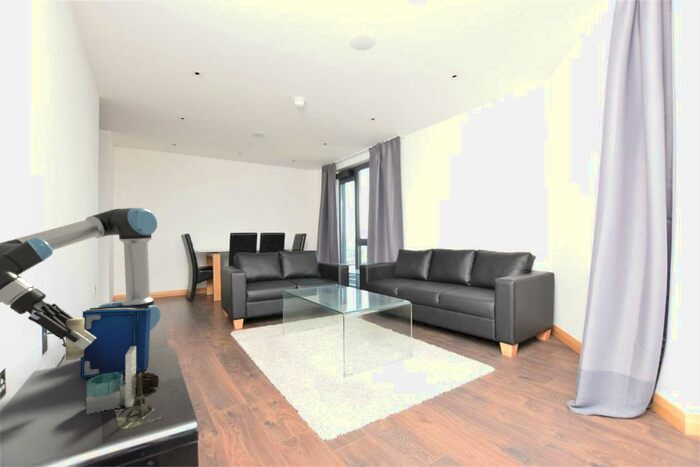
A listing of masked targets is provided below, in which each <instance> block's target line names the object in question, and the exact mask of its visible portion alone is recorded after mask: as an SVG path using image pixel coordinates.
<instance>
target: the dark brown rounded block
mask: <svg viewBox="0 0 700 467" xmlns="http://www.w3.org/2000/svg"><path fill="white" fill-rule="evenodd" d="M139 373H141V383H142V392H143V393H149V392H150V391H151V390H152V389H154V388H159V384H160V378H159V376H158V375H157V374H156V373H153V372H143V371H141V372H139ZM139 373H136V393H137V391H138V380H139V376H138V374H139Z"/></svg>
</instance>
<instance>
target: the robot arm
mask: <svg viewBox="0 0 700 467" xmlns="http://www.w3.org/2000/svg"><path fill="white" fill-rule="evenodd" d="M157 228H158V220H157V217H156V216H155V213H153V212H152V211H151V210H150V209H147V208H144V207H143V208H142V207H127V208H114V209H110V210H107V211H103V212H100V213H98V214H94V215H91V216H87V217H86V218H85V219H84V220H80V221H77V222H73V223H70V224H66V225H62V226H58V227H55V228H51V229H47V230H44V231H40V232H36V233H33V234H29V235H26V236H21V237H18V238H17V237H16V238H14V239H10V240H6V241H2V242H0V303H2V304H4V305H6V306H9V307H10V309H11V310H13V311H14V312H16V313H17V314H19V315H23V314H25V313H28V314H29V317H27V319H28V320H30V322H31V321H32V322H34V323H36V324H37V325H39V326H40V327H42V328H43V329H45V330H46V331H48V332H50V333H51V334H52V335H54V336H56V337H57V338H58V339H60V340H63V339H64V338H65V340H66V339H68V340H69V341H71V342H72V343H74V344H75V345H77V346H78V347H80V348H81V349H83V350H84V349H85V348H86V347H87V346H88V345H89V344H91V343H92V342H93V341H94V340H95V339H96V337H95V336H93V335H92V334H90V333H89V332H87V331H86V330H85V329H84V337H83V336H82V335H81V334H79V333H78V332H76V331H75V330H73V331H72V330H71V329H69V328H68V327H67V326H66V320H69V319H73V318H74V317H73V316H71V315H70V314H69V313H67V312H66V311H64V310H63V309H61V308H60V306H58V305H57V304H56V303H52V304H50V303H47V302H45V301H44V299H45V298H46V294H45V293H44V292H43V291H41V290H40V289H38V288H34V287H35V286H34V285H33V284H31V283H30V282H29V281H27V279H24V278H22V277H21V276H20V275H21V274H23V273H25V272H26V271H28V270H30V269H31V268H33V267H35V266H36V265H39V264H40V263H42V262H44V261H45V260H46V259H48V258H50V257H51V256H52V255H53V254H54V253H53V252H54V250H57V249H58V250H59V249H61V248H65V247H67V246H70V245H73V244H77V243H79V242H83V241H85V240H89V239H92V238H96V239H100V238H103V237H108V236H118V239H119V241H120V242H122V243H123V254H124V258H123V259H124V277H125V280H124V281H125V299H124V300H116V301H112V302H107V303H102V304H100V305H98V308H99V307H111V306H135V307H150V308H151V318H150V332H151V331H152V330H153V329H155V328H156V327H157V325H158V324H159V322H160V320H161V316H162V312H161V309H160V308H159V307H158V306H157V305H155V298H153V297H152V296H150V295H151V294H150V293H151V292H150V291H151V290H150V272H149V270H150V267H149V264H150V263H149V242H150V240H152V234H154V233H155V232H156V230H157Z"/></svg>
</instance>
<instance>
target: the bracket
mask: <svg viewBox="0 0 700 467" xmlns="http://www.w3.org/2000/svg"><path fill="white" fill-rule="evenodd" d="M136 375H137V372H136V346H132V347H130V348H129V350H128V352H127V353H126V372H125V380H123V377H124V375H123V374H122V373H117V372H113V373H107V374H101V375H99V376H96V377H94V378H89V379H88V380H87V382H86V412H85V413H86V414H87V415H91V413H92V414H96V413H95V412H97V413H101V412H100V411H102V412H105V411H104V410H107V411H111V410H110V409H112V410H116V409H115V408H117V409H121V408H122V407H123V406H125V408H124V409H127V408H132V406H133V405H134V402H135V400H136V396H137V392H136Z"/></svg>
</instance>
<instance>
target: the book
mask: <svg viewBox="0 0 700 467" xmlns="http://www.w3.org/2000/svg"><path fill="white" fill-rule="evenodd" d="M82 318H84V329H85V330H86V331H87V332H89V333H90V334H92V335H93V336H95V337H96V339H95V340H94V341H93V342H92V343H91V344H89V345H88V346H87V347H86V348H85V349H84V356H83V357H81V358H80V364H79V366H80V368H79V379H91V378H94V377H96V376H99V375H101V374H107V373H113V372H117V373H122V374H125V372H126V353H127V352H128V350H129V348H130V347H132V346H136V373H140V372H143V371H145V370H147V369H148V368H149V363H150V360H149V359H150V340H151V339H150V338H151V337H150V336H151V335H150V334H151V331H150V318H151V308H150V307H135V306H111V307H99V306H98V307H90V308H89V309H85V310H84V311H83V310H82Z"/></svg>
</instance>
